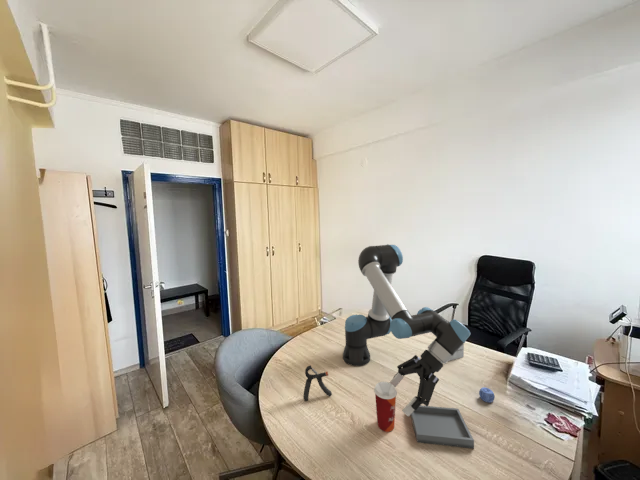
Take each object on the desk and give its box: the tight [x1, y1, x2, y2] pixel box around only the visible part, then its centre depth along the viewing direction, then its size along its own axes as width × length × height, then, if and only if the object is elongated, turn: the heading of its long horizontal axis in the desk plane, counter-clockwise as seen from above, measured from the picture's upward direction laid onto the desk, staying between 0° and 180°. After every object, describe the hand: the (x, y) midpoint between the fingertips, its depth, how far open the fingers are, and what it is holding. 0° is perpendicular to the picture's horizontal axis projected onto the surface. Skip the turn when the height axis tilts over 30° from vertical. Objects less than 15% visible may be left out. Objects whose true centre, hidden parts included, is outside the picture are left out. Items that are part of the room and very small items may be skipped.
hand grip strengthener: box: [303, 365, 333, 402], centre depth 109 cm, size 2×12×15 cm, turn 99°
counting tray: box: [410, 404, 475, 450], centre depth 92 cm, size 18×14×3 cm
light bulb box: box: [447, 343, 465, 362], centre depth 138 cm, size 11×7×11 cm, turn 108°
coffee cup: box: [373, 381, 398, 433], centre depth 93 cm, size 8×8×15 cm
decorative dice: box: [478, 386, 496, 403], centre depth 105 cm, size 4×4×4 cm
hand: (397, 399), depth 92 cm, fingers open, 13 cm apart
